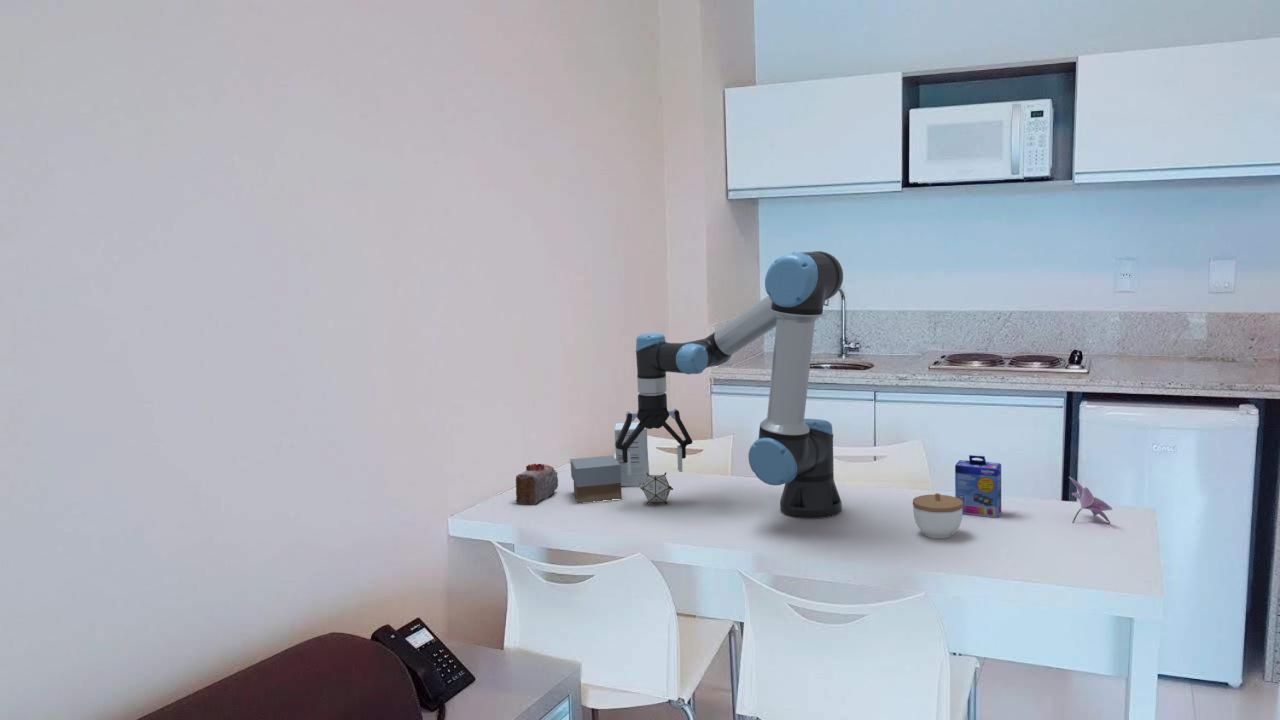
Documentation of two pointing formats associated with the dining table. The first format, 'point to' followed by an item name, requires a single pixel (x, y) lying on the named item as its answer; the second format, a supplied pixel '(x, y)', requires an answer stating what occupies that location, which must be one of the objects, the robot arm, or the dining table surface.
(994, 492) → the ink cartridge box
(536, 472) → the food item
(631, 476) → the supplement box
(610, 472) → the tower top
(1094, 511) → the lily
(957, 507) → the lidded jar
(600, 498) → the tower base
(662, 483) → the game die
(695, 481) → the dining table surface
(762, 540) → the dining table surface
